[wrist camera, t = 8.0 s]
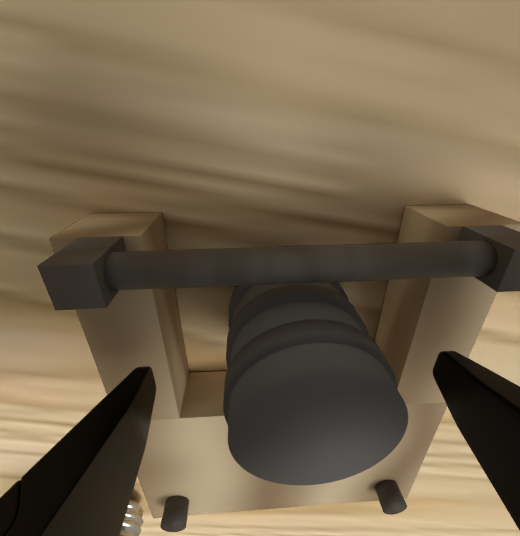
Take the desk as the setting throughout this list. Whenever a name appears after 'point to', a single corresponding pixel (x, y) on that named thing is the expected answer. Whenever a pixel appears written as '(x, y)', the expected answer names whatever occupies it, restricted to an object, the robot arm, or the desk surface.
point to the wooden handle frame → (263, 273)
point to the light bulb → (132, 520)
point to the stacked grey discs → (306, 386)
